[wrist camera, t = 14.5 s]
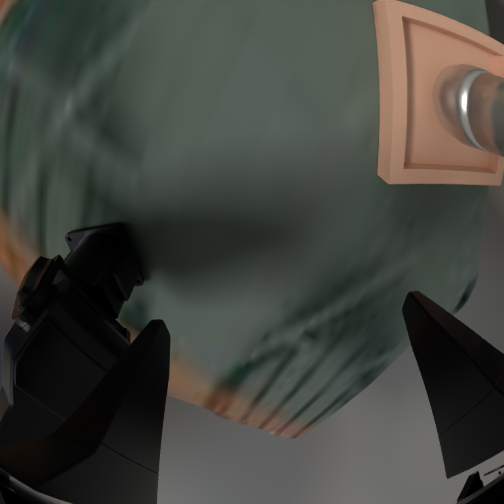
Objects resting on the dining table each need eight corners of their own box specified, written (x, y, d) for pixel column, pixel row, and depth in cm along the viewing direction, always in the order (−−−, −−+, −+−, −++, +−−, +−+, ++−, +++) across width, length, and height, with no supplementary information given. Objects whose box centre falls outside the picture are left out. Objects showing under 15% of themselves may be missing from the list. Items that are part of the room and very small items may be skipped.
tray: (377, 174, 20) (388, 184, 18) (372, 3, 12) (384, -3, 10) (488, 177, 19) (500, 186, 18) (495, 46, 11) (509, 48, 10)
